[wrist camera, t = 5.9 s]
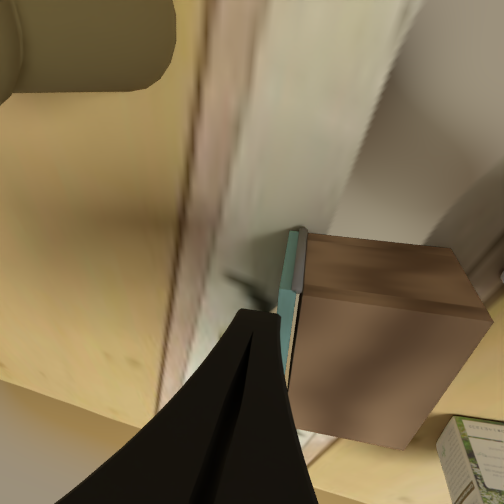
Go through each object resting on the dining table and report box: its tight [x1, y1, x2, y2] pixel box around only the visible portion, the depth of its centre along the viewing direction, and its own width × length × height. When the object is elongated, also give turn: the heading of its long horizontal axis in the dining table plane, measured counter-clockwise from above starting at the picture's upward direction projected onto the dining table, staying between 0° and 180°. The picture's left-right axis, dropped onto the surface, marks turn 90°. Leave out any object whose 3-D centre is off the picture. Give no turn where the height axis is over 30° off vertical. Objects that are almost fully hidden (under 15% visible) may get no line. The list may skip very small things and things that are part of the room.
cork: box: [0, 0, 176, 105], centre depth 10 cm, size 6×6×11 cm
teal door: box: [277, 227, 308, 375], centre depth 20 cm, size 2×13×5 cm, turn 178°
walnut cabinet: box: [287, 233, 494, 451], centre depth 19 cm, size 8×13×6 cm, turn 179°
